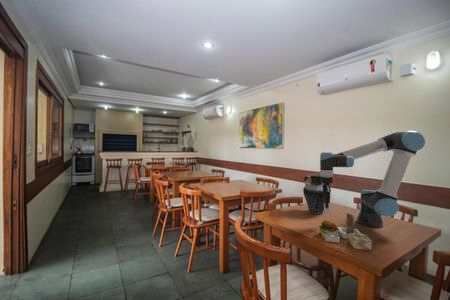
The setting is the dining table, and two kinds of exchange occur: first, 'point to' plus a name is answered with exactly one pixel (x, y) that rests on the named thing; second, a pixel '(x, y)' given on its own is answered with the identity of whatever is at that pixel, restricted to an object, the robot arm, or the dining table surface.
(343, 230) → the tray
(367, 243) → the jig block
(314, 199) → the jug
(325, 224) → the cheeseburger
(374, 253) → the dining table surface
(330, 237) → the rail
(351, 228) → the dowel
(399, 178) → the robot arm
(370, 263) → the dining table surface
